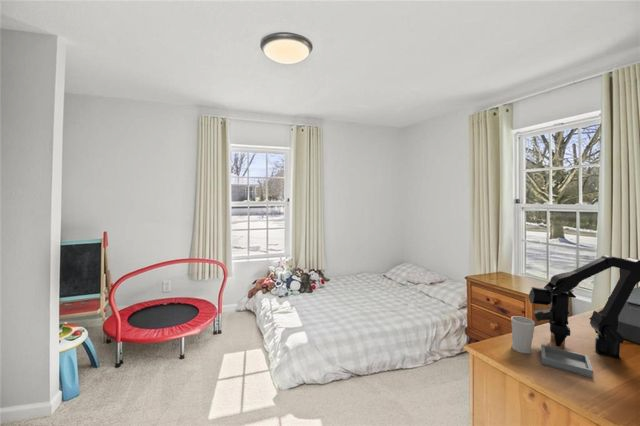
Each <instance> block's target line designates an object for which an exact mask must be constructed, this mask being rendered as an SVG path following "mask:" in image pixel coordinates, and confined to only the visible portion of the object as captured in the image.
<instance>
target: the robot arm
mask: <svg viewBox="0 0 640 426" xmlns="http://www.w3.org/2000/svg"><path fill="white" fill-rule="evenodd" d="M612 267H613V268H617V269H619V271H618V272H619V278H618V281H617V282H616V284H615V286H614V288H613V289H612V292H611V293H610V295H609V297H608V300H607V301H606V303H605V304H604V307H603V308H602V309H601V310H599V311H597V310H593V312H592V315H591V316H590V317H589V318H588V319H589V320H590V321H589V324H590V326H591V328H593V330H594V332H595V334H597V335H596V337H595V339H594V349H595V350H596V352H597V354H599V355H602V356H608V357H611V358H615V359H621V356H620V352H621V349H620V348H621V344H623V343H624V342H625V339H626V338H625V337H624V336H623V335H622V334H621V333H620V332H618V330H619V325H620V321H619V316H620V314H621V313H622V311H623V309H624V307H625V305H626V303H627V302H628V300H629V298H630V296H631V294H632V293H633V290H634V289H635V287H636V285H637V284H638V283H640V259H638V258H634V257H626V258H621V257H616V256H611V255H608V254H605V255H601V256H600V257H599V258H597V259H595V260H592V261H590V262H589V263H586V264H584V265H581V266H580V267H577V268H575V269H574V270H570V271H567V272H560V273H558V274H555V275H553V276H551V277H550V280H549V282H548V283H547V284H546V285H545V286H543V287H542V288H541V287H536V286H532V287H531V289H530V291H529V293H528V298H529V303H530V304H533V305H540V306H541V305H543V306H549V305H550V306H549V308H548V309H547V308H546V309H537V310H533V315H534V318H535V320H536V321H537V322H540V321H547V320H548V324H549V332H550V333H551V332H553V333H554V336H555V342H556V346H560V345H561V344H562V342H563V341H564V340H565V341H566V338H568V336H569V337H570V336H571V328H570V327H569V315H570V310H569V309H570V307H569V306H570V298H571V299H572V298H573V299H576V298H577V296H576V295H575V294H574V293H573V291H572V290H574V289H575V288H576V287H577V286H578V285H579V284H580V283H581V282H583V281H584V280H586V279H589V278H591V277H593V276H596V275H597V274H599V273H602V272H605V271H606V270H608V269H610V268H612ZM536 321H535V322H536Z"/></svg>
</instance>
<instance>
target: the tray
mask: <svg viewBox="0 0 640 426" xmlns="http://www.w3.org/2000/svg"><path fill="white" fill-rule="evenodd" d="M540 346H541V347H540V348H541V349H540V352H541V354H540V355H541V358H540V359H541V365H543V366H547V367H551V368H553V369H558V370H561V371H565V372H569V373H571V374H572V373H573V374H576V375H579V376H584V377H587V378H591V379H593V378H594V369H593V367H592V364H591V361H590V358H589V354H583V353H579V352H575V351H572V350H568V349H565V350H563V349H559V348H555V347H551V346H550V345H545V344H542V343H541V345H540Z"/></svg>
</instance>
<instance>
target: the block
mask: <svg viewBox="0 0 640 426" xmlns="http://www.w3.org/2000/svg"><path fill="white" fill-rule="evenodd" d="M549 340H550V341H549V343H550V344H549V346H551V347H555V348H559V349H563V350H566V349H565V348H566V339H565V340H564V341H563V342H562V344H561V345H560V346H556V342H555V336H554V333H553V332H550V339H549Z"/></svg>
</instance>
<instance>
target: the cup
mask: <svg viewBox="0 0 640 426" xmlns="http://www.w3.org/2000/svg"><path fill="white" fill-rule="evenodd" d="M510 318H511V321H510V322H511V339H512V340H511V342H512V343H511V348H512V350H514V351H515V352H518V353H521V354H531V353H532V345H533V338H534V331H535V326H536V321H535V320H533V319H532V318H531V319H530V318H529V317H525V316H520V315H519V316H518V315H516V316H515V315H514V316H511V317H510Z"/></svg>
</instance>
